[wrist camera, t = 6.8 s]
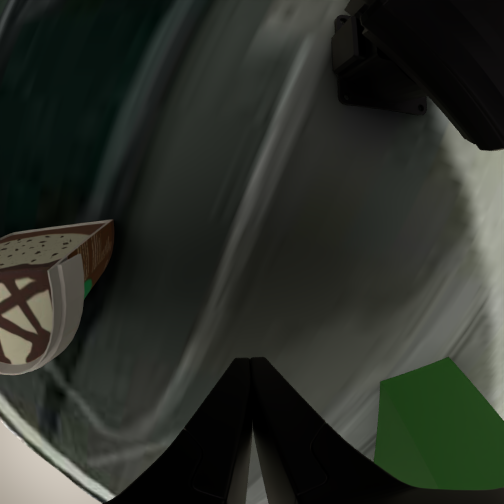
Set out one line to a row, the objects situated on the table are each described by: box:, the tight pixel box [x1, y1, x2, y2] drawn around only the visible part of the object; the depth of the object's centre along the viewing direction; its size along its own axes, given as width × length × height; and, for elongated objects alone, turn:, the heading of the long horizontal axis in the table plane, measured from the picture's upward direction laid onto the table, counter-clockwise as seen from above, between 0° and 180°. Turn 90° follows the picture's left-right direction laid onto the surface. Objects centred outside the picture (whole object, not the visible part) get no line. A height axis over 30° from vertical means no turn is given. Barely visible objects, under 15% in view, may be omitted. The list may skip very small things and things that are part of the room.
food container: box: [0, 219, 114, 375], centre depth 16 cm, size 12×6×10 cm, turn 93°
